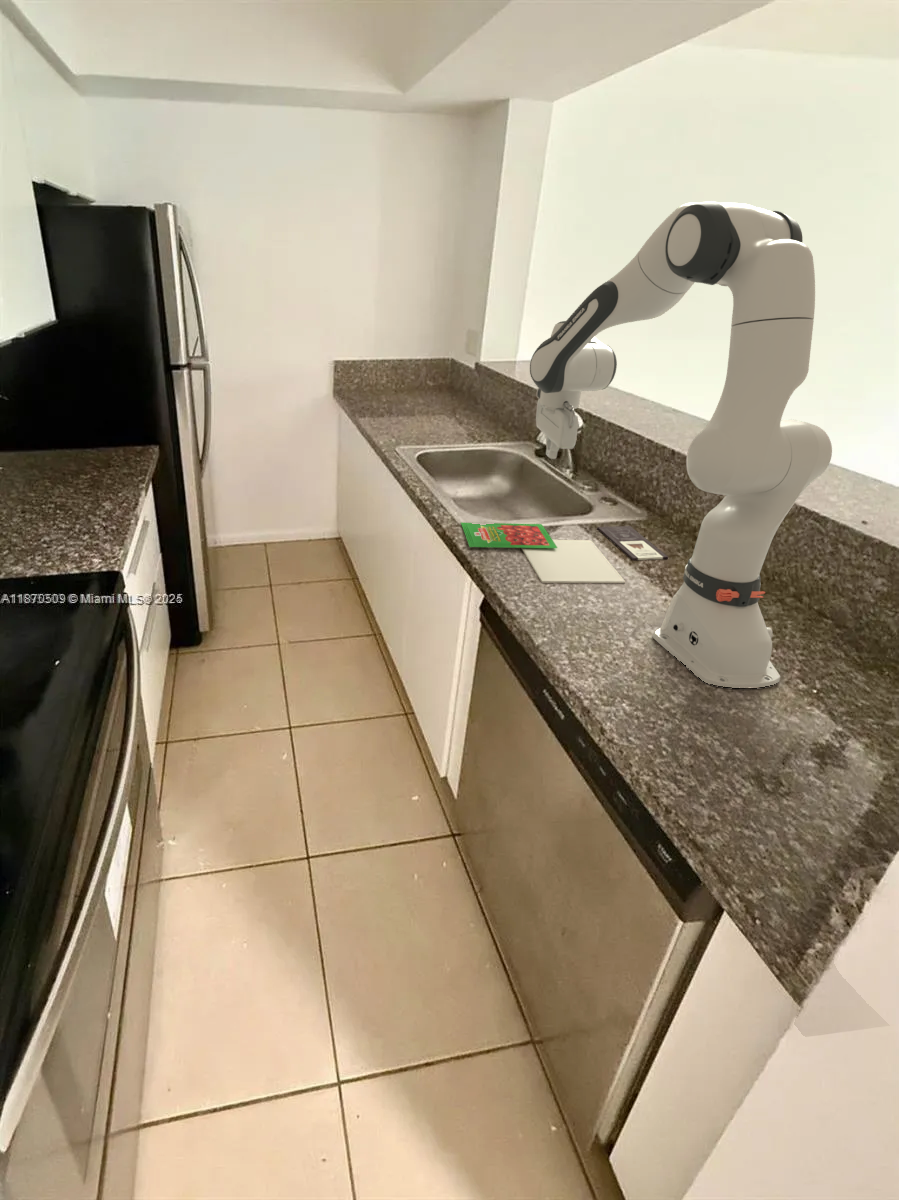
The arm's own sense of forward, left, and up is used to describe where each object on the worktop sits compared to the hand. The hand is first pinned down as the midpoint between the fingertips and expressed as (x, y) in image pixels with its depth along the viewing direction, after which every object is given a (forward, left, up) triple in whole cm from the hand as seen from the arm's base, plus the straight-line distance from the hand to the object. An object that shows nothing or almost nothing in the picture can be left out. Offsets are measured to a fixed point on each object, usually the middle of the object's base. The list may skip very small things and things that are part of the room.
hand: (550, 457), depth 154 cm
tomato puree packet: (-10, +1, -16) cm, 19 cm away
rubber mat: (-22, 0, -17) cm, 28 cm away
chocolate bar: (-12, -19, -17) cm, 28 cm away
